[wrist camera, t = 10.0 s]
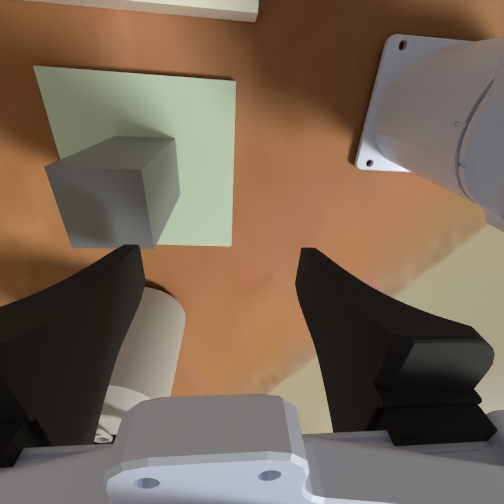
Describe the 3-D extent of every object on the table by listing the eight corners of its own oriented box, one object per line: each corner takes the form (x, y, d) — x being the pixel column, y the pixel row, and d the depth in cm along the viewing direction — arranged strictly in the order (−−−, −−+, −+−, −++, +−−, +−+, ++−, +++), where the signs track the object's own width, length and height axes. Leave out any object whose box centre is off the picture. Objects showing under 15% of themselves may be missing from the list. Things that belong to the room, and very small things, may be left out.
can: (125, 340, 29) (67, 477, 19) (96, 286, 25) (4, 421, 15) (194, 331, 29) (173, 464, 19) (176, 275, 25) (137, 405, 15)
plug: (175, 138, 19) (141, 169, 12) (180, 194, 21) (154, 248, 14) (114, 135, 18) (44, 166, 12) (126, 193, 20) (72, 247, 14)
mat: (236, 81, 18) (236, 81, 17) (231, 243, 24) (231, 246, 23) (38, 65, 17) (32, 65, 16) (87, 239, 23) (84, 242, 22)
